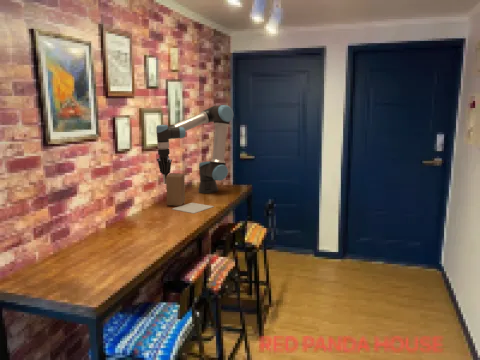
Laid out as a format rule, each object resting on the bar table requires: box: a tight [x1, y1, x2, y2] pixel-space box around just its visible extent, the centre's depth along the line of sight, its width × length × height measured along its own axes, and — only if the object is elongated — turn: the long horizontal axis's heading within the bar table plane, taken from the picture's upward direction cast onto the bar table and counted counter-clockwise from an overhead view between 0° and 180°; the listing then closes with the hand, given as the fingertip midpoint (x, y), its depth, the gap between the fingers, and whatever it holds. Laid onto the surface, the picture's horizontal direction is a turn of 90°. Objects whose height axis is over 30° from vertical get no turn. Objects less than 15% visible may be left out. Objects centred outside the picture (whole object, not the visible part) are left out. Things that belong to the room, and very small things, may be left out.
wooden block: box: [165, 172, 186, 207], centre depth 244 cm, size 10×10×20 cm
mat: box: [171, 202, 215, 215], centre depth 236 cm, size 18×20×1 cm
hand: (165, 183), depth 248 cm, fingers closed
